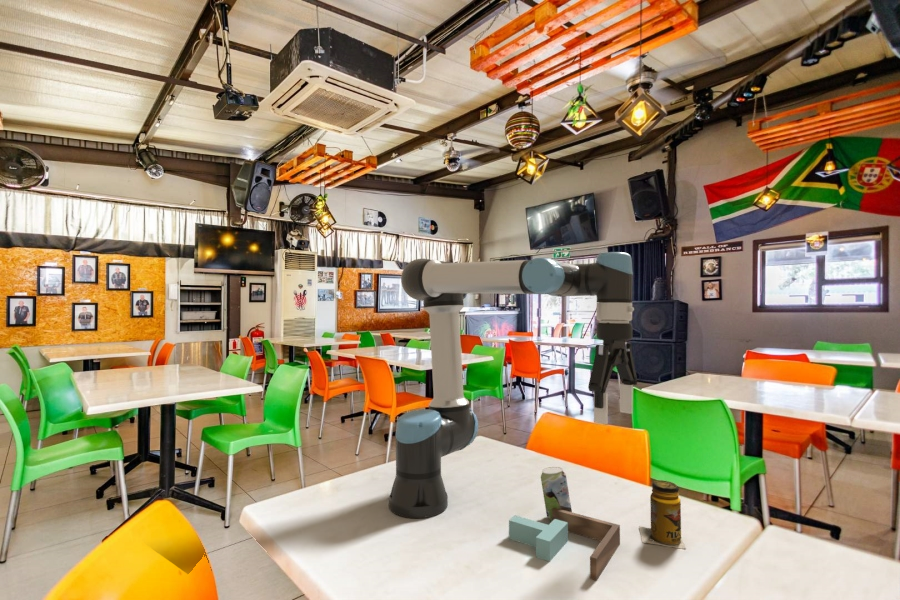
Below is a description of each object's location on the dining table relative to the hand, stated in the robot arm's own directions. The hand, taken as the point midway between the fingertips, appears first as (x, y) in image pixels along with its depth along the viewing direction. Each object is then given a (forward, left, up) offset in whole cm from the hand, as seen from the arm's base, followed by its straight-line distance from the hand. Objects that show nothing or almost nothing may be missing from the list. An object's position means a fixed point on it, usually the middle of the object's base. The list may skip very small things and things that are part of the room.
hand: (614, 417), depth 99 cm
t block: (-13, -12, -27) cm, 32 cm away
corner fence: (-6, -10, -26) cm, 29 cm away
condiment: (+8, +6, -27) cm, 29 cm away
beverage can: (-14, +1, -27) cm, 30 cm away
